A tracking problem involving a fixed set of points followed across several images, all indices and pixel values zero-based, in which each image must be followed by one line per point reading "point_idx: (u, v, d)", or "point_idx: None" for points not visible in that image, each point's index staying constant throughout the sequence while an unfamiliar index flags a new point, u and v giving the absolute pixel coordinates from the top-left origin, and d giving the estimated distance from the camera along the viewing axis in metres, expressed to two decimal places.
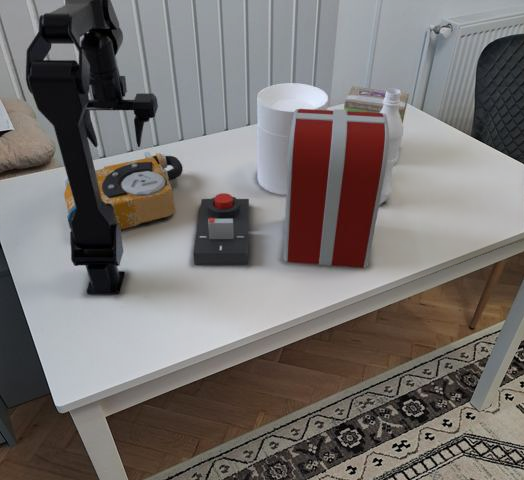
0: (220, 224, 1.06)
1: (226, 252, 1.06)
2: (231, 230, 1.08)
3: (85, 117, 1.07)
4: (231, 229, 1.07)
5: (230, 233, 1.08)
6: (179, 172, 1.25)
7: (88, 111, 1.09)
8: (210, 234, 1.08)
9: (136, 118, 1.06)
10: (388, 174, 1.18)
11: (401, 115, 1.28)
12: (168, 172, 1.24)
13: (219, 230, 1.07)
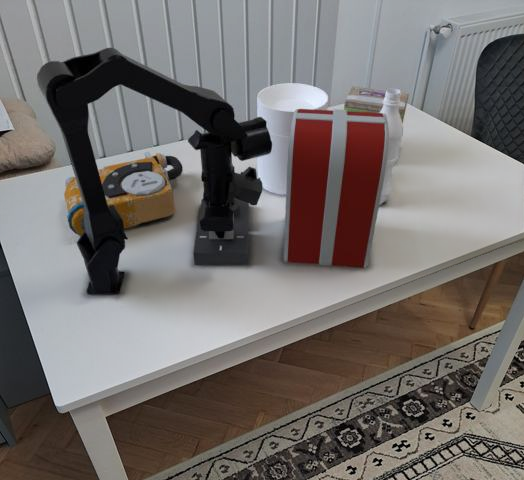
0: None
1: (226, 252, 1.06)
2: None
3: None
4: None
5: (230, 233, 1.08)
6: (179, 172, 1.25)
7: (228, 203, 1.05)
8: (210, 234, 1.08)
9: None
10: (388, 174, 1.18)
11: (401, 115, 1.28)
12: (168, 172, 1.24)
13: None
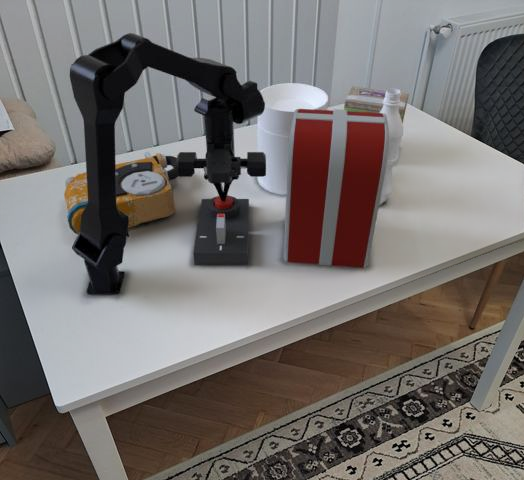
0: None
1: (226, 252, 1.06)
2: None
3: None
4: None
5: (217, 236, 1.07)
6: None
7: None
8: None
9: None
10: (388, 174, 1.18)
11: (401, 115, 1.28)
12: (168, 172, 1.24)
13: None
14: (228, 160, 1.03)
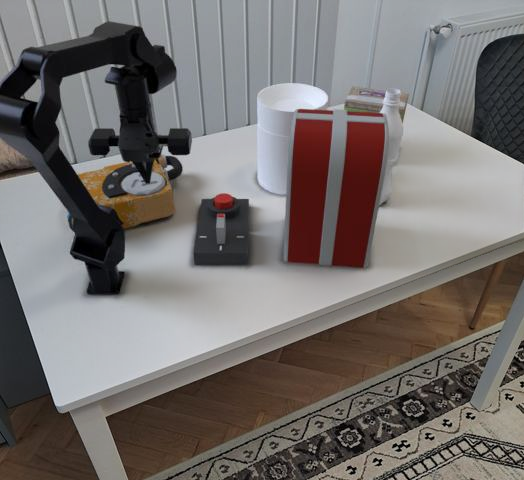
0: None
1: (226, 252, 1.06)
2: None
3: None
4: None
5: (217, 236, 1.07)
6: (179, 172, 1.25)
7: None
8: None
9: None
10: (388, 174, 1.18)
11: (401, 115, 1.28)
12: (168, 172, 1.24)
13: None
14: (143, 136, 0.93)
